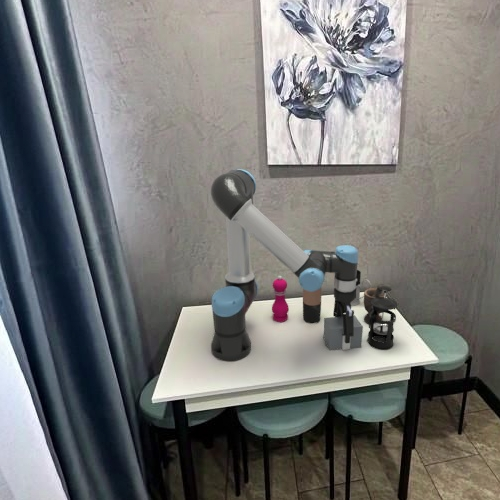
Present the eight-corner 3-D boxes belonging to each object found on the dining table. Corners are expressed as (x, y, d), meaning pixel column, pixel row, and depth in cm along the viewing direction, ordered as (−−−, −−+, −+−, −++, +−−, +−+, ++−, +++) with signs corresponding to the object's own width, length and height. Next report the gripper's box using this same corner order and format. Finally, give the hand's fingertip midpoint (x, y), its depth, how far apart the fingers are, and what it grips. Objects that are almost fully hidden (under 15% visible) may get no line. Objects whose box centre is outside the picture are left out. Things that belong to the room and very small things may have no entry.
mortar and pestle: (393, 327, 143) (398, 282, 136) (374, 332, 141) (378, 286, 134) (375, 314, 153) (379, 271, 147) (358, 318, 151) (361, 275, 144)
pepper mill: (289, 314, 156) (289, 273, 149) (287, 323, 150) (287, 280, 143) (273, 313, 158) (272, 271, 151) (270, 321, 151) (269, 278, 145)
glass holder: (348, 295, 171) (349, 266, 166) (374, 305, 160) (377, 275, 155) (336, 301, 166) (338, 272, 160) (363, 312, 155) (365, 281, 150)
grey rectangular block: (329, 350, 131) (330, 329, 128) (323, 338, 138) (324, 317, 135) (361, 347, 132) (362, 326, 129) (353, 335, 139) (354, 315, 136)
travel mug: (319, 314, 155) (321, 272, 148) (321, 324, 148) (322, 280, 141) (302, 314, 156) (302, 272, 149) (302, 323, 149) (303, 280, 142)
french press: (400, 347, 131) (407, 291, 123) (378, 353, 128) (383, 296, 120) (380, 331, 141) (385, 278, 133) (359, 336, 139) (363, 282, 131)
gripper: (366, 300, 118) (362, 358, 125) (345, 275, 137) (342, 326, 145) (344, 302, 117) (341, 360, 125) (326, 277, 137) (324, 328, 144)
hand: (341, 342), depth 135 cm, fingers closed on grey rectangular block, 8 cm apart
